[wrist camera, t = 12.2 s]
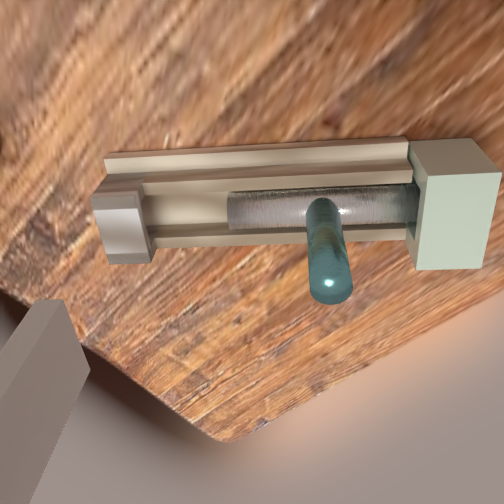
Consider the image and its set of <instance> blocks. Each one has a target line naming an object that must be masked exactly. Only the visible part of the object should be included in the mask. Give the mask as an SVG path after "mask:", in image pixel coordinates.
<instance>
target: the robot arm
mask: <svg viewBox="0 0 504 504" xmlns="http://www.w3.org/2000/svg"><path fill="white" fill-rule="evenodd" d="M89 372H90V368H89V365H88V363H87V360H86V358H85V355H84V353H83V350H82V347H81V345H80V342H79V340H78V337H77V334H76V332H75V329H74V327H73V324H72V322H71V319H70V316H69V314H68V311H67V309H66V306H65V304H64V301H63V299H56V300H36V301H35V302H34V304H33V305H32V307H31V308H30V310H29V311H28V313H27V314H26V315H25V317H24V318H23V320H22V321H21V323H20V324H19V326H18V327H17V328H16V330H15V331H14V333H13V334H12V336H11V337H10V338H9V340H8V341H7V343H6V344H5V346H4V347H3V349H2V350H1V352H0V504H29V503H30V500H31V498H32V496H33V494H34V492H35V489H36V487H37V485H38V483H39V481H40V479H41V476H42V474H43V472H44V470H45V468H46V466H47V463H48V461H49V459H50V457H51V454H52V452H53V450H54V448H55V446H56V444H57V441H58V439H59V437H60V435H61V433H62V431H63V428H64V426H65V424H66V422H67V420H68V417H69V415H70V413H71V411H72V409H73V407H74V404H75V402H76V400H77V398H78V395H79V393H80V391H81V389H82V387H83V385H84V382H85V380H86V378H87V376H88V374H89Z"/></svg>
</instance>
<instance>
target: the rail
mask: <svg viewBox="0 0 504 504" xmlns="http://www.w3.org/2000/svg"><path fill="white" fill-rule="evenodd" d="M407 152H408V140H407V139H406V137H405V136H399V137H382V138H364V139H347V140H330V141H312V142H295V143H277V144H260V145H242V146H225V147H208V148H190V149H173V150H155V151H138V152H121V153H108V155H107V156H106V157H105V158H104V162H105V166H106V170H107V173H108V174H107V176H106V177H105V178H104V180H103V181H102V182H101V184H100V185H99V186H98V188H97V189H96V190H95V191H94V193H93V194H92V195H91V197H90V198H89V199H90V202H91V205H92V208H93V212H94V215H95V218H96V222H97V225H98V228H99V232H100V235H101V238H102V241H103V245H104V248H105V251H106V255H107V258H108V261H109V265H111V264H141V263H151V261H152V259H153V257H154V254H155V252H156V249H159V248H187V247H214V246H242V245H269V244H297V243H307V233H306V227H284V228H258V229H233V230H230V229H229V226H228V220H227V195H228V193H240V192H261V191H282V190H303V189H324V188H345V187H366V186H388V185H404V183H412V174H413V169H412V167H411V165H410V163H409V161H408V159H407ZM342 229H343V235H344V240H345V242H352V241H380V240H405V238H406V229H407V228H406V226H405V223H384V224H359V225H342Z"/></svg>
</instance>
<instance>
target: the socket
mask: <svg viewBox="0 0 504 504" xmlns="http://www.w3.org/2000/svg"><path fill="white" fill-rule="evenodd" d="M407 159H408V161H409V163H410V165H411V167H412V169H413V174H412V183H404V185H409V184H418V186H419V188H420V190H421V193H420V201H419V209H418V217H417V222H410V223H405V226H406V228H407V229H406V238H405V243H406V246H407V248H408V251H409V253H410V256H411V259H412V261H413V264H414V267H415V269H416V270H440V269H473V268H481V266H482V262H483V257H484V253H485V248H486V244H487V239H488V235H489V230H490V226H491V221H492V217H493V212H494V208H495V203H496V199H497V194H498V190H499V185H500V181H501V176H502V171H501V170H500V169H499V168H498V167H497V166H496V165H495V164H494V163H493V162H492V160H491V159H490V158H489V157H488V156H487V155H486V154H485V153H484V152H483V150H482V149H481V148H480V147H479V146H478V145H477V144H476V143H475V142H474V140H473V139H472V138H458V139H440V140H422V141H408V152H407Z"/></svg>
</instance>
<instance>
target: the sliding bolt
mask: <svg viewBox="0 0 504 504" xmlns="http://www.w3.org/2000/svg"><path fill="white" fill-rule="evenodd" d="M420 193H421V190H420V188H419V186H418V184H409V185H388V186H366V187H345V188H324V189H303V190H282V191H261V192H240V193H228V195H227V220H228V226H229V229H230V230H233V229H258V228H284V227H306V233H307V249H308V266H309V283H310V292H311V295H312V296H313V298H314V299H315V300H317V301H318V302H320V303H323V304H328V305H333V304H338V303H341V302H343V301H345V300H346V299H347V298H348V297H349V296H350V295H351V293H352V290H353V284H352V278H351V273H350V267H349V262H348V256H347V251H346V245H345V240H344V235H343V229H342V225H359V224H384V223H410V222H417V217H418V209H419V201H420Z"/></svg>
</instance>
